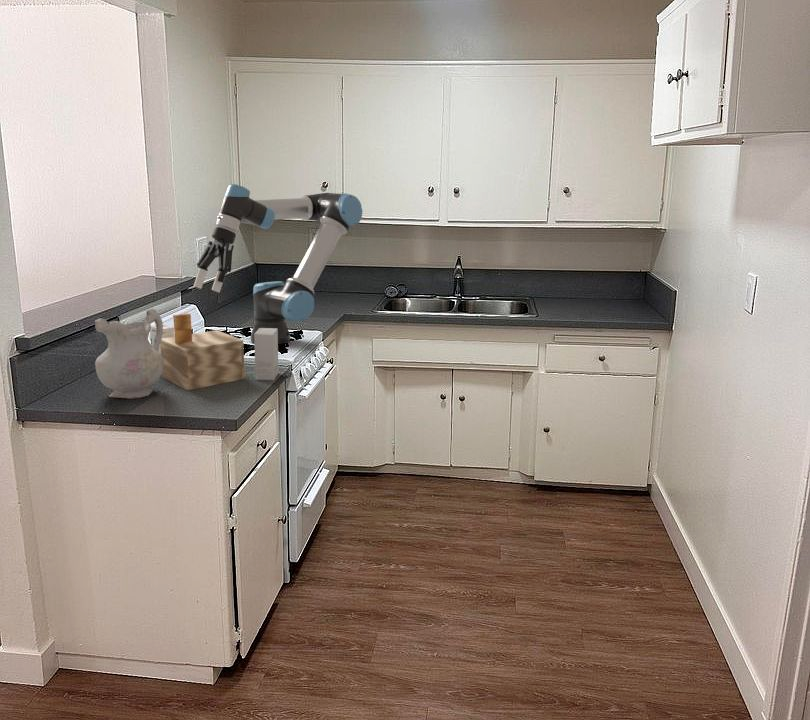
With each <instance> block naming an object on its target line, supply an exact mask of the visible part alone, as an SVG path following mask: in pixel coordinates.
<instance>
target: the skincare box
mask: <svg viewBox="0 0 810 720" xmlns="http://www.w3.org/2000/svg"><path fill="white" fill-rule="evenodd" d="M254 343H255V344H254ZM254 343H253V344H254V370H255V371H254V372H255V373H254V374H255V377H254V378H255V381H256V380H257V381H275V379H276V378H277V376H278V374H279V345H278V329H277V328H259V329H258V330H257V331H256V333H255V334H254Z"/></svg>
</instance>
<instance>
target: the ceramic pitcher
mask: <svg viewBox="0 0 810 720" xmlns="http://www.w3.org/2000/svg"><path fill="white" fill-rule="evenodd" d="M157 311H158V310H156V309H154V308H151V309H147V310H146V316H145V317H144V319H143V320H142V321H140V320H139V321H131V322H129V323H126V324H125V323H123V322H120V321H117V320H113V321H109V322H108V321H107V320H106V319H105V318H104V319H103V318H97V319H95V320H94V322H95V323H94V324H95V325H94V326H95V330H96V332H97V333H101V334H104V335H105V337H106V339H107V343H108V345H107V348H106V349H105V350H104V351H103V353H101V354H100V355H99V356H98V357H97V358H96V359H95V364H94V366H95V372H96V376H97V377H98V379H99V381H100V382H101V383H102V385H103V386H104V387H106V388H108V389H111V390H113V391H112V393H110V394H109V395H108V397H109V398H117V399H118V398H121V399H129V400H133V399H140V398H146V397H145V396H147V397H148V396H149V395H151V394H152V393H153V392H154V391H153V389H152V388H151V387H152V386H154V385H156V384H157V383H158V381H159V380H160V379H161V377H162V376H163V370H164V360H163V357H162V355H161V354H160V353H159V350H158V349H159V344H160V342H161V339H162V332H163V325H164V324H163V323H164V322H163V319H162V317H161V315H159V313H158V312H157ZM152 323H155V326H156V335H155V338H154V344H153V348H152V347H151V344H150V343H149V336H150V329H151V327H152Z"/></svg>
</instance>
